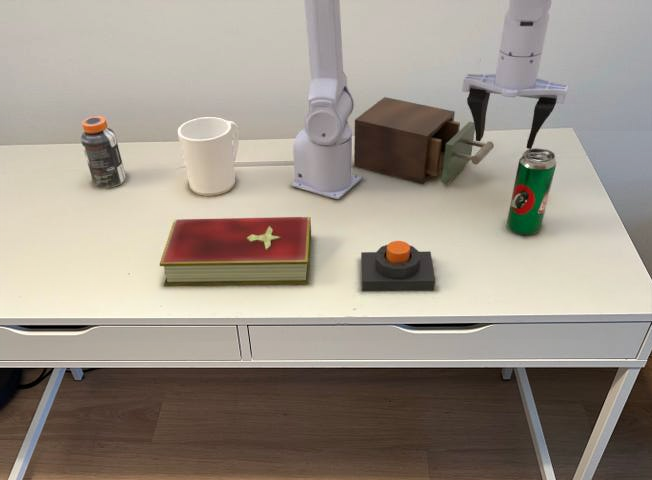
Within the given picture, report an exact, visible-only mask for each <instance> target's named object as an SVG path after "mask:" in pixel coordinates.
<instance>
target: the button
mask: <svg viewBox="0 0 652 480" xmlns="http://www.w3.org/2000/svg"><path fill="white" fill-rule="evenodd" d="M386 245H387V253H386V258H387V260H388V261H389V262H392V263H405V262H407V261H408V260H409V256H410V246H411V244H409V243H408V242H406V241H403V240H393V241H390V242H389V243H387V244H386Z"/></svg>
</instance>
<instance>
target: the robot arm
mask: <svg viewBox="0 0 652 480" xmlns="http://www.w3.org/2000/svg"><path fill="white" fill-rule="evenodd" d="M303 1H304V12H305V24H306V34H307V35H306V36H307V47H308V57H309V59H308V60H309V70H310V84H309V90H308V96H307V104H308V107H307V108H308V109H307V113H306V115H305V117H304V122H303V126H304V127H303V129H302V130H300V131H299V133H298V134H297V135H296V137H295V139H294V143H293V149H292V153H293V154H292V155H293V172H294V182H292V183H291V185H292V187H294V188H296V189H300V190H304V191H307V192H310V193H314V194H317V195H320V196H325V197H327V198H331V199H333V200H339V199H341V198H342V197H343V196H344V195H346V193H348V192H349V191H350V190H351V189H352V188H354V186H356V185H357V184H358V183H359V182H361V180H362V177H361V176H360V175H356V174H352V165H353V163H352V158H353V157H352V156H353V151H352V150H353V149H352V148H353V131H352V128H351V127H350V124H349V121H348V119H349V118H350V116H351V115H352V113H353V111H354V107H355V100H354V97H353V95H352V93H351V91H350V89H349V86H348V77H347V75H346V73H345V71H344V62H343V61H344V60H343V43H342V41H343V40H342V23H341V21H342V19H341V4H340V3H341V2H340V0H303ZM551 6H552V0H509V2H508V9H507V11H506V12H505V14H504V22H503V27H502V32H501V33H502V34H501V39H500V44H499V45H500V46H499V50H498V51H499V52H498V57H497V65H496V70H495V73H483V74H482V73H480V74H479V73H478V74H477V73H475V74H474V73H466V75H465V76H464V77H463V79H462V80H463V82H462V89H461V91H462V92H463V93H468V96H467V99H466V102H467V106H468V108H469V110H470V114H471V116H472V119H473V122H474V125H475V141H476V142H481V141H482V139H483V137H484V134H485V129H486V121H487V120H486V117H487V112H488V106H489V100H490V96H491V94H496V95H501V96H502V97H506V98H516V97H519V98H520V97H521V98H529V99H537V101H536V104H535V105H534V109H533V117H532V122H531V129H530V132H529V134H528V135H529V136H528V139H527V142H526V147H525V148H526V150H528V149H532V148H533V146H534V144H535V140H536V138H537V135H538V133H539V132H540V130H541V128H542V126H543V125H544V123H545V122H546V120H547V119H548V118H549V116H550V115H551V113H552V112H553V111H554V109H555V106H556V104H560V105H561V104H562V105H564V104H565V101H566V99H567V95H568V92H569V91H568V90H569V85H568V84H562V83H557V82H553V81H550V80H546V79H543V78H538V74H539V70H540V66H541V65H540V64H541V59H542V56H543V55H542V54H543V50H544V45H545V41H546V40H545V39H546V35H547V31H548V25H549V20H550V13H549V11H550V9H551Z"/></svg>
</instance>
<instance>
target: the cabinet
mask: <svg viewBox="0 0 652 480" xmlns="http://www.w3.org/2000/svg"><path fill="white" fill-rule="evenodd" d="M455 113H456V111H454V110H449V109H445V108H440V107H435V106H430V105H426V104H420V103H416V102H410V101H406V100H401V99H397V98H392V97H388V96H387V97H386V96H384V97H383V98H381V99H380V100H378V101H377V102H375V104H373V105H372V106H371V107H369V108H368V109H367V110H366V111H364V112H363V113H361V114H360V115H359V116H358V117H356V118H355V119H354V141H353V142H354V147H353V148H354V150H353V151H354V153H353V154H354V155H353V157H354V158H353V162H354V163H353V166H354V167H357V168H361V169H364V170H368V171H373V172H376V173H380V174H384V175H387V176H390V177H391V176H392V177H394V178H395V177H396V178H398V179H403V180H406V181H410V182H414V183H419V184H421V185H424V183H426V182H427V181H428V180H429V179H430V178H431V177H432V175H428V174H426V166H427V155H428V145H429V138H430V137H432V136H433V135H434V134H435V133H436V132H437V131H438V130H439V129H440V128H441V127H443V126H444V125H445V124H446V123H447V122H448V121H449V120H450V121H455Z"/></svg>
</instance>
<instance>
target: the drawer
mask: <svg viewBox="0 0 652 480" xmlns="http://www.w3.org/2000/svg"><path fill="white" fill-rule="evenodd" d="M460 127H461V122H460V121H455V120H454V121H450V120H449V121H448V122H447V123H446V124H445V125H444V126H443V127H441V128H440V129H439V130H438V131H437V132H436V133H435V134H434V135H433V136H432V137H430V138H429V145H428V155H427V166H426V174H428V175H431V177H438V176H439V174H442V175H441V183H443V184H449V183H450V182H451V181H452V180H453V179H454V178H455V177H456V176H457V175H458V174H459V173H460V172H461V171H462V170H463V168H464V167H466V165H468V163H470V161H471V163H472V164H473V165H479V164H480V162H482V161H483V160H484V159H485V157H486V156H487V155H489V153H490V152H491V151H492V150H493V149H494V145H495V144H494V143H493V142H492V141H487V142H486V143H484V142H481V141H476V140H474V139H475V134H476V132H475V125H474V121H468V122H467V123H466V124H465V125H464V126H463V127H462V128H460ZM473 147H477V148H480V149H479V150H478V151H477V152H476V153H475V154H474V155H472V153H473Z"/></svg>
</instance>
